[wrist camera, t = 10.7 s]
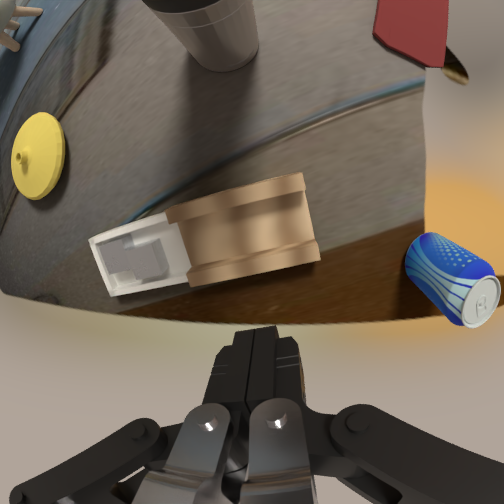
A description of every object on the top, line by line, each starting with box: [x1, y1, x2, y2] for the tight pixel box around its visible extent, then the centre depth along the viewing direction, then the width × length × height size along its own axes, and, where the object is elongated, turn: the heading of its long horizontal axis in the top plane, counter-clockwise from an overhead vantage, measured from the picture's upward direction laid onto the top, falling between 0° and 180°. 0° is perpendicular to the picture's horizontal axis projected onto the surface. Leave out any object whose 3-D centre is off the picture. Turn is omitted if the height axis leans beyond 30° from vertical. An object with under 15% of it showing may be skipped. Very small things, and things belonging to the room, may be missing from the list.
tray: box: [88, 212, 192, 297], centre depth 38 cm, size 15×10×3 cm, turn 105°
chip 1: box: [99, 234, 134, 275], centre depth 37 cm, size 4×4×3 cm
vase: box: [11, 113, 65, 200], centre depth 33 cm, size 16×16×7 cm
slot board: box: [165, 172, 321, 287], centre depth 35 cm, size 18×11×4 cm, turn 105°
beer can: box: [405, 232, 501, 328], centre depth 29 cm, size 8×8×16 cm
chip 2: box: [125, 238, 170, 280], centre depth 37 cm, size 4×4×3 cm
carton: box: [372, 0, 449, 68], centre depth 22 cm, size 12×5×25 cm
